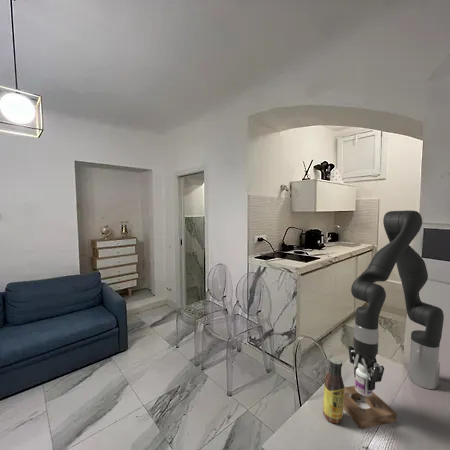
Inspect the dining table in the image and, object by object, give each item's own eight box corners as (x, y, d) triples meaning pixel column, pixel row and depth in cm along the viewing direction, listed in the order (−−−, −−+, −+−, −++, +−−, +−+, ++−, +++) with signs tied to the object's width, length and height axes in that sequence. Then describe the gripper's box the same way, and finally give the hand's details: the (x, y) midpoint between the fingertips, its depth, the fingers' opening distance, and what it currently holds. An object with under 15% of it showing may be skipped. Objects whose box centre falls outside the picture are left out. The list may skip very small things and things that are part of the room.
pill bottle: (367, 386, 88) (368, 361, 87) (375, 397, 82) (376, 370, 82) (352, 385, 88) (353, 360, 88) (358, 396, 83) (360, 369, 82)
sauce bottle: (334, 427, 78) (336, 368, 77) (318, 413, 83) (320, 358, 82) (347, 420, 81) (349, 363, 80) (331, 406, 86) (333, 353, 85)
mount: (363, 391, 94) (364, 384, 94) (396, 421, 80) (396, 413, 80) (332, 396, 91) (333, 389, 91) (361, 429, 77) (361, 420, 77)
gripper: (392, 347, 78) (390, 397, 79) (359, 327, 92) (357, 369, 93) (373, 350, 77) (371, 400, 77) (342, 328, 91) (340, 371, 91)
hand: (363, 383), depth 85 cm, fingers closed on pill bottle, 5 cm apart
